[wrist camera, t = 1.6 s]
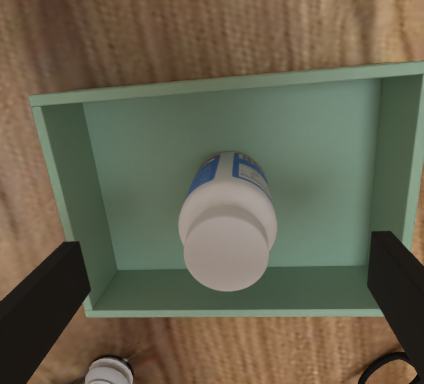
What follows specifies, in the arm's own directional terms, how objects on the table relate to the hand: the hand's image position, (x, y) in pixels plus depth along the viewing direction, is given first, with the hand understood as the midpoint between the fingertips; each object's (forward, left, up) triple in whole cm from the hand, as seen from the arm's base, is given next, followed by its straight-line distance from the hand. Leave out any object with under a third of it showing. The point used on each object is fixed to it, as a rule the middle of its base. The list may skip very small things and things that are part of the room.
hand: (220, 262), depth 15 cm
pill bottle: (0, 0, -10) cm, 10 cm away
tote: (0, 0, -11) cm, 11 cm away
